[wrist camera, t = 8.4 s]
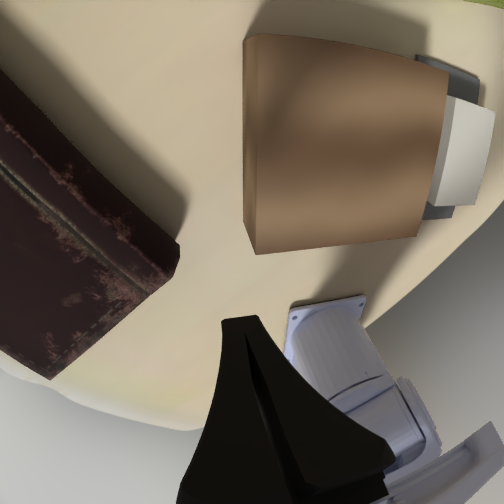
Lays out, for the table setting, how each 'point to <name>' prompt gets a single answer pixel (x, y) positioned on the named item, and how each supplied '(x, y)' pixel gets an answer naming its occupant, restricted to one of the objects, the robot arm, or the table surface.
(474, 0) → the plant pot
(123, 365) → the table surface
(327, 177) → the brown shallow square box
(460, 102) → the off-white rectangular block
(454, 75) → the mat
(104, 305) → the diary
